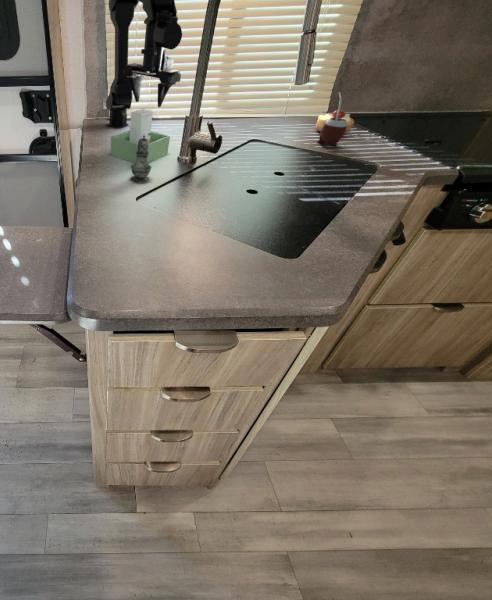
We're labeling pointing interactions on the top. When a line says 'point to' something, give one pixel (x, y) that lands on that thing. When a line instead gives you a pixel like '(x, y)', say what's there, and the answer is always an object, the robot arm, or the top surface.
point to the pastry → (325, 117)
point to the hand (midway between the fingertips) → (148, 104)
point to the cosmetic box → (140, 125)
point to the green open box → (128, 149)
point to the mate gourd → (333, 129)
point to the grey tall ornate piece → (141, 163)
